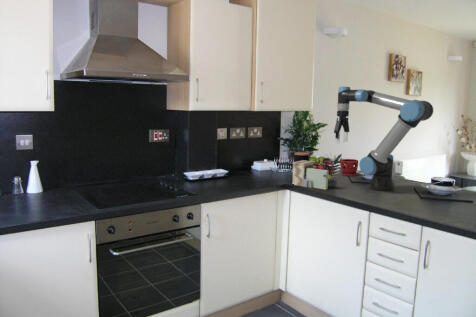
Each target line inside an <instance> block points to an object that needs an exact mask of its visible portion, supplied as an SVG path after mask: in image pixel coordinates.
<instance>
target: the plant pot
mask: <svg viewBox="0 0 476 317" xmlns="http://www.w3.org/2000/svg"><path fill="white" fill-rule="evenodd" d="M358 167H359V159H355V158H343V159H340V170H341V175H343V176H346V177H354V176H357V174H358V173H357V171H358Z"/></svg>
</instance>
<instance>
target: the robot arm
mask: <svg viewBox="0 0 476 317" xmlns="http://www.w3.org/2000/svg"><path fill="white" fill-rule="evenodd" d="M350 102H359V103H362V102H366V103H370V104H375V105H378V106H382V107H385V108H389V109H393V110H396V111H399V114H398V115H397V119H398V120H397V121H396V122H395V124H394V125H393V126H392V127H391V129H390V130H389V132H387V134H386V135H385V136H384V138H383V139H382V140H381V141H380V143H379V144H378V145H377V147H376V148H375V149H372V150H371V151H370V152H369V153H368V154H367V155H366V156H363V157H362V158H361V159H360V160H359V162H358V167H359V169H360V171H361V173H363V174H364V175H365V176H372V177H371V180H370V182H369V189H371V190H376V191H381V192H382V191H384V192H388V191H394V190H395V185H394V181H393V180H394V179H393V168H394V167H393V166H394V156H393V155H392V153H393V151H394V150H395V149H396V148H397V146H398V145H399V144H400V142H402V140H403V139H404V138H405V137H406V135H407V134H408V133H409V132H410V130H411V129H414V128H416V127H417V126H418V125H419V124H420V123H421V122H424V121H427V120H429V119H431V117H432V116H433V114H434V106H433V105H432V103H430V102H429V101H428V100H427V101H426V100H418V99H412V100H411V99H407V98H403V97H398V96H394V95H390V94H386V93H383V92H382V93H381V92H378V91H374V90H371V89H369V90H366V89H362V88H361V89H351V87H350V86H339V87H338V90H337V105H336V107H337V110H336V116H337V117H336V122H335V125H334V130H333V133H334V134H335V139H334V144H340V139H341V137H340V135H341V133H340V132H341V129H343V137H342V138H343V139H342V142H343V143H347V142H348V135H349V133H350V124H349V114H350V111H349V110H350Z"/></svg>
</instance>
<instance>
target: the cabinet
mask: <svg viewBox="0 0 476 317" xmlns="http://www.w3.org/2000/svg"><path fill="white" fill-rule="evenodd" d="M314 163H315V161H311V160H309V161H306V160H302V161H297V162H292V184H294V186H299V187H303V186H302V183H303V177H306V173H307V168H313V169H314V166H315V165H314ZM292 184H291V185H292Z"/></svg>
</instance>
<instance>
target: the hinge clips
mask: <svg viewBox="0 0 476 317" xmlns="http://www.w3.org/2000/svg"><path fill="white" fill-rule="evenodd" d="M307 183H308V179H306V177H303V183H302V186H301V187H303V188H304V187H305V188H313V187H312V180H309V187H307Z"/></svg>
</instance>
